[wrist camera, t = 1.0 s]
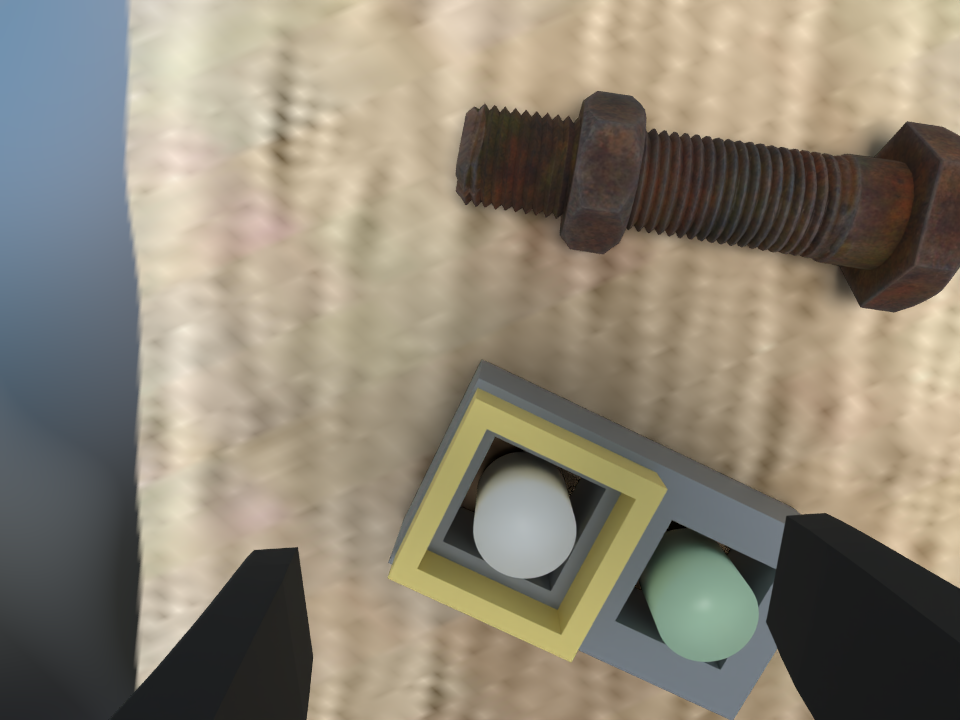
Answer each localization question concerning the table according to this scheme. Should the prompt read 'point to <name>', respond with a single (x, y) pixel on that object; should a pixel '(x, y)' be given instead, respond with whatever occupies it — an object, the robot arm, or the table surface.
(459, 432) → the grey compartment tray
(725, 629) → the on button
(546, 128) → the bolt
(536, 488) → the button
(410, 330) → the table surface
